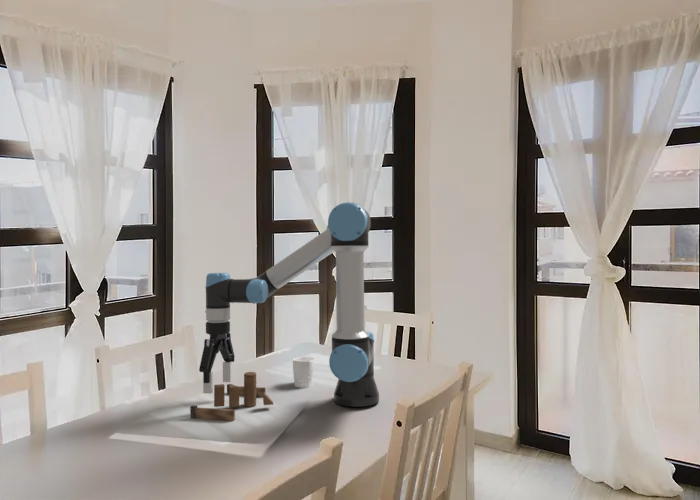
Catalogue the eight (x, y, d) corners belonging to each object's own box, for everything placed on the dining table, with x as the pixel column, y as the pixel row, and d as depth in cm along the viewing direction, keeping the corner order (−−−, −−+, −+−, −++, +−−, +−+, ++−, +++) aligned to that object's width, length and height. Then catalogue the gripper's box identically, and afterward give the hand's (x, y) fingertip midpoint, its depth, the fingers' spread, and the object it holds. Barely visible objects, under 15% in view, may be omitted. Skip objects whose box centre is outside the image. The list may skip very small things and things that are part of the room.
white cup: (288, 388, 187) (288, 360, 187) (299, 382, 194) (298, 356, 194) (308, 390, 184) (308, 362, 184) (317, 384, 191) (317, 357, 191)
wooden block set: (214, 414, 157) (214, 380, 157) (214, 405, 165) (214, 373, 165) (273, 410, 161) (273, 377, 161) (271, 401, 170) (271, 370, 169)
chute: (265, 396, 176) (265, 385, 176) (233, 421, 150) (233, 409, 150) (228, 394, 179) (228, 384, 179) (190, 418, 153) (190, 406, 153)
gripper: (224, 315, 178) (224, 377, 178) (187, 326, 154) (187, 397, 154) (244, 316, 177) (244, 378, 177) (210, 327, 152) (210, 398, 152)
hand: (217, 387), depth 165 cm, fingers open, 13 cm apart
